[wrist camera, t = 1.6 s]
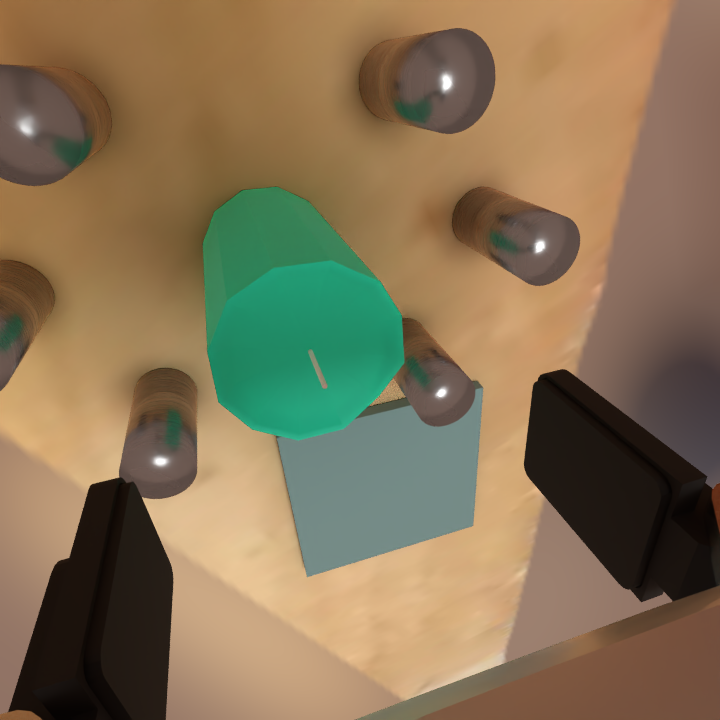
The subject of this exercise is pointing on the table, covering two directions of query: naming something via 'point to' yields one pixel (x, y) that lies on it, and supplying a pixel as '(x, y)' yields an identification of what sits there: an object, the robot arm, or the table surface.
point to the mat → (381, 483)
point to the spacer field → (385, 100)
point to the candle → (293, 318)
